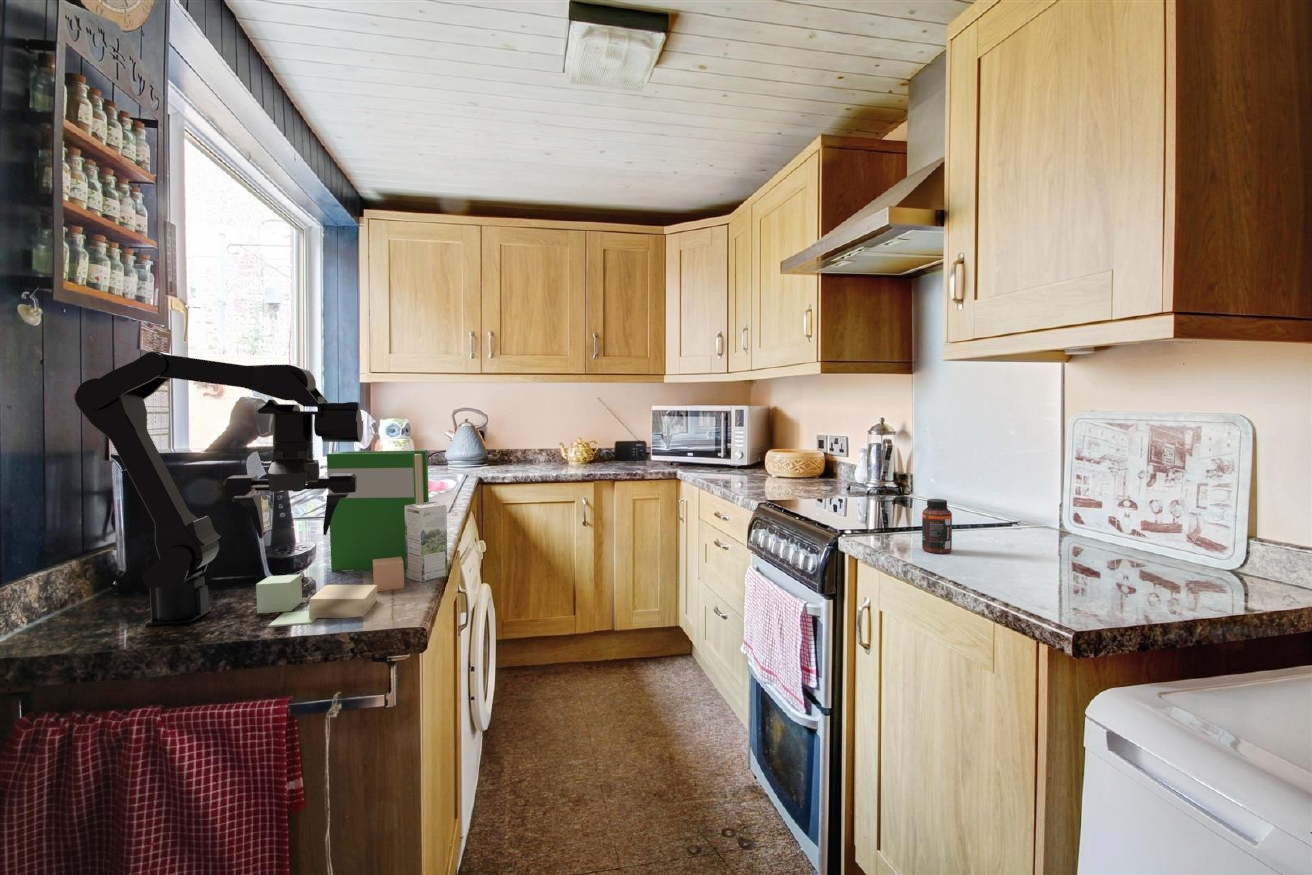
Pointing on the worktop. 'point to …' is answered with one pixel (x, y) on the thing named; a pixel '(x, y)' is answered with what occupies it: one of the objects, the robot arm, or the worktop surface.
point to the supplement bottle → (937, 527)
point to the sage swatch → (292, 619)
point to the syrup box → (426, 541)
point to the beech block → (342, 601)
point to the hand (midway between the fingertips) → (293, 536)
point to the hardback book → (375, 505)
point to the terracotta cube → (388, 573)
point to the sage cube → (279, 593)
